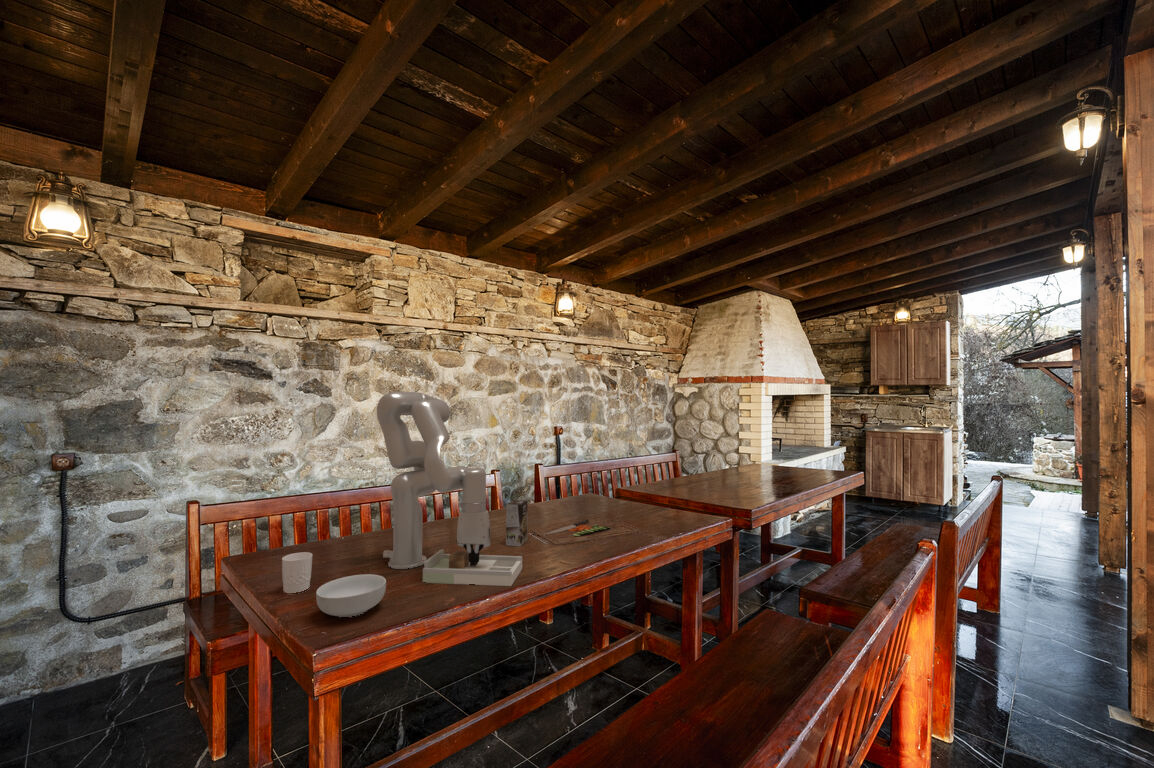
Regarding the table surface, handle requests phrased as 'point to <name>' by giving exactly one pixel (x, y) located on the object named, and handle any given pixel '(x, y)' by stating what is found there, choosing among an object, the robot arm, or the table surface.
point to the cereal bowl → (351, 595)
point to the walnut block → (458, 559)
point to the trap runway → (473, 570)
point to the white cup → (296, 572)
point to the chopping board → (578, 532)
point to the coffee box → (516, 522)
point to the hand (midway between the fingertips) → (474, 564)
